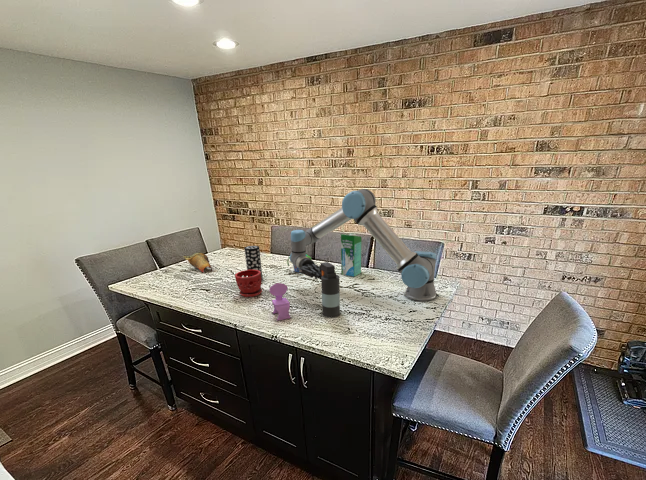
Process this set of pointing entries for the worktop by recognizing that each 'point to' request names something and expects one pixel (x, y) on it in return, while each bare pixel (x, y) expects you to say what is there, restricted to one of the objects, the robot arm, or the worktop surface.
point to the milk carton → (350, 254)
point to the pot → (198, 261)
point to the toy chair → (280, 301)
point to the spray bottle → (330, 291)
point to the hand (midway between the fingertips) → (324, 278)
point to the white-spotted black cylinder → (253, 258)
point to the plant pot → (249, 282)
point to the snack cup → (295, 266)
